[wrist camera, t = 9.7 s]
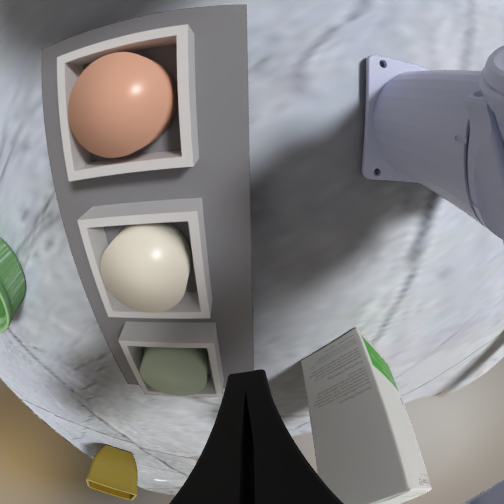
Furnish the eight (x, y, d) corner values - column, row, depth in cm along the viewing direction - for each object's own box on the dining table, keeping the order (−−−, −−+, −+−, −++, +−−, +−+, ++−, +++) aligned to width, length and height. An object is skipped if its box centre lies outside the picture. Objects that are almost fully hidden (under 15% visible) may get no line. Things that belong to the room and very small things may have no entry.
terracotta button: (176, 50, 11) (164, 42, 9) (180, 143, 14) (170, 150, 12) (88, 69, 11) (65, 67, 9) (95, 154, 14) (74, 165, 12)
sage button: (204, 332, 20) (201, 357, 18) (211, 373, 23) (210, 396, 21) (139, 331, 20) (131, 355, 18) (154, 371, 23) (150, 394, 20)
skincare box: (387, 361, 27) (436, 488, 13) (336, 390, 29) (366, 516, 15) (354, 323, 24) (416, 491, 10) (293, 360, 25) (320, 522, 12)
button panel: (245, 14, 12) (247, -9, 9) (253, 370, 26) (255, 405, 22) (58, 51, 12) (22, 47, 8) (132, 368, 26) (123, 400, 22)
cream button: (187, 214, 16) (179, 233, 14) (196, 288, 18) (192, 312, 16) (107, 220, 16) (90, 238, 14) (125, 288, 18) (113, 312, 16)
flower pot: (95, 436, 36) (85, 479, 28) (143, 452, 38) (137, 496, 30) (96, 449, 40) (87, 486, 32) (138, 463, 42) (132, 500, 34)
